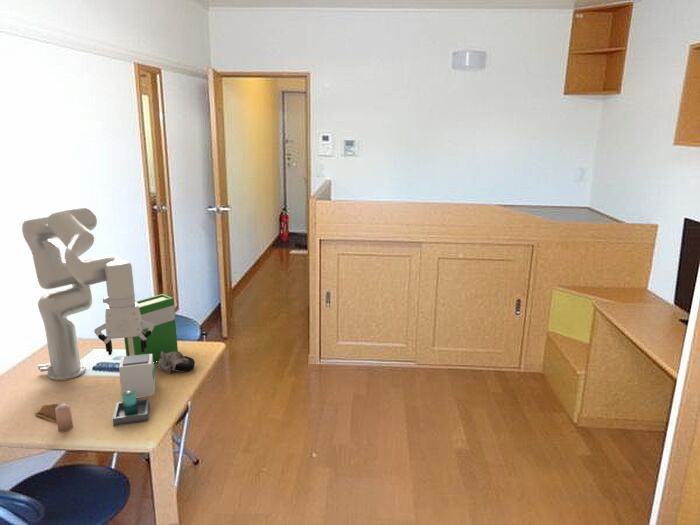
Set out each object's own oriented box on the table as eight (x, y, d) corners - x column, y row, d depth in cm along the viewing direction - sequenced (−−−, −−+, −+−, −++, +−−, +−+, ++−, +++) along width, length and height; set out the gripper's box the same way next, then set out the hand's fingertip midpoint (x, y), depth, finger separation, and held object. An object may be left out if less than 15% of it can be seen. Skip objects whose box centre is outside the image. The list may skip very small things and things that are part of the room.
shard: (57, 424, 164) (57, 419, 163) (30, 428, 161) (29, 423, 161) (65, 406, 174) (64, 402, 173) (39, 410, 171) (38, 405, 171)
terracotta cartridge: (56, 432, 159) (53, 410, 157) (59, 425, 162) (56, 403, 160) (71, 430, 160) (68, 408, 158) (74, 423, 164) (70, 401, 162)
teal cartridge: (125, 410, 169) (122, 389, 167) (138, 408, 171) (135, 387, 168) (124, 417, 166) (121, 396, 164) (137, 414, 167) (134, 393, 165)
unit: (121, 399, 177) (117, 365, 174) (124, 388, 185) (120, 355, 181) (155, 395, 180) (151, 362, 177) (156, 384, 188) (153, 352, 184)
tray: (113, 426, 162) (112, 418, 162) (117, 409, 172) (116, 402, 171) (147, 421, 165) (147, 414, 164) (149, 404, 174) (149, 398, 174)
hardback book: (137, 369, 198) (130, 310, 192) (127, 363, 203) (120, 305, 196) (178, 353, 212) (173, 297, 205) (167, 348, 216) (162, 293, 210)
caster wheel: (197, 373, 201) (176, 380, 193) (177, 360, 206) (156, 366, 198) (200, 358, 200) (180, 364, 191) (180, 345, 205) (159, 351, 196)
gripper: (88, 307, 155) (95, 360, 159) (150, 303, 159) (155, 354, 164) (93, 298, 161) (99, 349, 166) (152, 294, 166) (157, 344, 171)
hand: (127, 351), depth 165 cm, fingers open, 9 cm apart
